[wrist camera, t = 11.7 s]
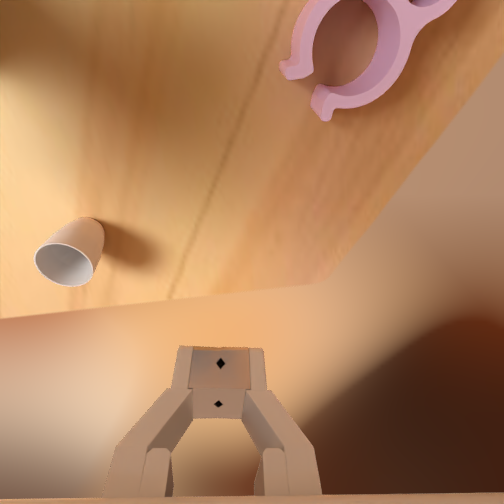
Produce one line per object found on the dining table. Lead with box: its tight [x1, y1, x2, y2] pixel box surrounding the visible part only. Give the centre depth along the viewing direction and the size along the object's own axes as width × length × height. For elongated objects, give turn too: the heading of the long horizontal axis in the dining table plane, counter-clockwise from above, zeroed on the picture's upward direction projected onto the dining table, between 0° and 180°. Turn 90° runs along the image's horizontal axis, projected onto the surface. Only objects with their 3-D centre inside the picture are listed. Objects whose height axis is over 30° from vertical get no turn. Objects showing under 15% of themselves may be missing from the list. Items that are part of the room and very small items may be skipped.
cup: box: [34, 217, 104, 287], centre depth 52 cm, size 8×8×10 cm
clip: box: [279, 0, 457, 121], centre depth 38 cm, size 20×12×7 cm, turn 135°
